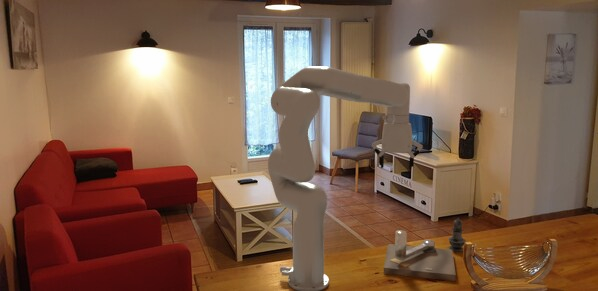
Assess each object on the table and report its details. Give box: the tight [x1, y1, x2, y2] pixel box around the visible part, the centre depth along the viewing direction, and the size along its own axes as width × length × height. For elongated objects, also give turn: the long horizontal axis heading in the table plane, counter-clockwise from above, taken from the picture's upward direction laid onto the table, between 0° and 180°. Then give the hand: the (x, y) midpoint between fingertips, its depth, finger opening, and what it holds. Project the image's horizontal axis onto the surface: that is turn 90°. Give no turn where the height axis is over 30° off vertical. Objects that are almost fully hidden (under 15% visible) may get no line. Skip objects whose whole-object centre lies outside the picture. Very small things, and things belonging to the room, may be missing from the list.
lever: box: [394, 229, 436, 260], centre depth 159 cm, size 20×4×9 cm, turn 131°
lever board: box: [383, 243, 457, 282], centre depth 159 cm, size 22×20×3 cm
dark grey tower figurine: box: [448, 217, 466, 253], centre depth 170 cm, size 6×6×12 cm
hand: (396, 168), depth 165 cm, fingers open, 9 cm apart
